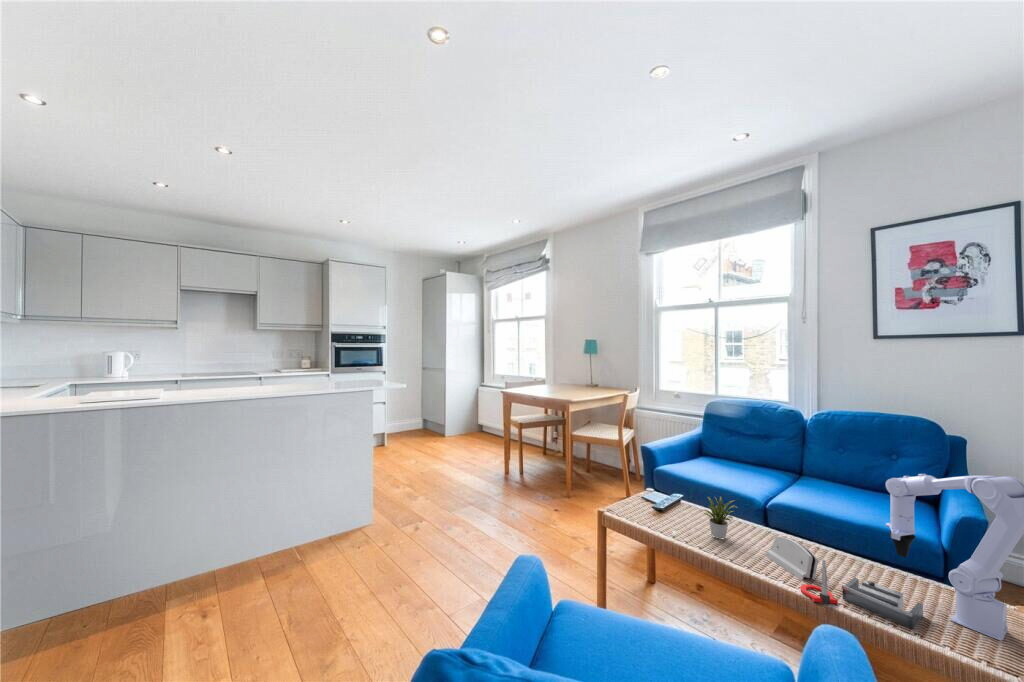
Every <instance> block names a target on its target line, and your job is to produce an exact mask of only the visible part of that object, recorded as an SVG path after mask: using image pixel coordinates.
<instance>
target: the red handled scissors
mask: <svg viewBox="0 0 1024 682" xmlns="http://www.w3.org/2000/svg"><path fill="white" fill-rule="evenodd" d="M821 563H822V564H821V565H822V566H821V586H817V585H815V584H809V583H808V584H802V585H801V586H800V592H801V593H802V594H803V595H805V596H806V597H808V598H810V599H811V600H812V602H813V603H821V604H825V605H826V604H827V605H831V604H832V605H833V604H834V605H838V604H839V602H838V601H839V600H838V599H837V598H835V597H834V595H833V593H832V592H830V591H829V590H828V581H827V580H828V579H827V577H828V575H827V566H826V560H825V559H822V562H821ZM808 590H815V591H818V592H819V596H818V595H815V594H813V593H811V592H809V591H808Z"/></svg>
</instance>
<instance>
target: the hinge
mask: <svg viewBox="0 0 1024 682" xmlns="http://www.w3.org/2000/svg"><path fill="white" fill-rule="evenodd" d="M765 557H767V558H768V559H770V560H771V561H773V562H774V563H775V562H776V564H777V565H778V566H780V567H781V568H783V569H784V570H786V571H787V572H789V573H790V574H791V575H793V576H794V577H796V578H797V579H798V580H800V581H804V578H807V579H811V580H816V575H817V569H818V564H819V559H818V557H817V556H816V555H815V554H814V553H813V552H812V551H811V550H810V549H809V548H807V547H806V546H805V545H803V544H802V543H800V542H799V541H796V540H793V539H791V538H788V537H783V536H776V537H775V539H774V540H773V543H772V546H771V547H770V549H768V550H767V551H766V554H765Z"/></svg>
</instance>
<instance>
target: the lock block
mask: <svg viewBox="0 0 1024 682" xmlns="http://www.w3.org/2000/svg"><path fill="white" fill-rule="evenodd" d="M858 591H859V592H861V593H863V594H866V595H868V596H871V597H873V598H876V599H878V600H880V601H883V602H885V603H888V604H890V605H893V606H895V607H898V608H900V609H902V610H904V593H902V592H900V591H897V590H895V589H891V588H889V587H886V586H883V585H880V584H878V583H875V582H873V581H870V580H866V579H864V580H863V581H862V582H861V583H860V584H859V587H858Z"/></svg>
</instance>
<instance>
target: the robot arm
mask: <svg viewBox="0 0 1024 682" xmlns="http://www.w3.org/2000/svg"><path fill="white" fill-rule="evenodd" d="M885 488H886V490H887V492H888V493H889V494H890V495H889V496H890V500H889V501H890V502H889V503H890V506H889V508H890V509H889V510H890V512H889V513H890V517H889V518H890V522H887V523H885V527H888V528H889V529H890V531H889V533H888V534H889V536H890V539H891V540H892V541H893V545H894V548H895V551H896V555H897V556H900V557H903V558H907V557H908V555H909V553H910V552H909V551H910V548H911V545H912V543H913V542H914V540H915V539H916V535H915V534H916V529H915V501H916V497H917V496H919V497H920V496H934V495H939V494H941V493H942V490H966V491H967V492H968V493H970V494H973V495H975V496H976V497H977V498H978V499H979V500H980V501H981V502H982V503H983V505H985V506H986V507H987V508H988V509H989V510H990V511H991V512H992V513H993V514H994V515H995V518H994V520H993V521H992V522H991V525H989V527H988V528H987V530H986V532H985V534H984V535H983V537H982V538H981V540H980V542H979V544H978V545H977V547H976V548H975V550H974V552H973V553H972V554H971V557H970V558H969V559H967V560H965V561H964V562H962V563H960V564H959V565H958V566H957V568H953V569H952V570H950V571H949V572H948V580H949V582H950V584H951V585H952V586H953V587H954V590H955V613H954V615H953V616H952V617H951V619H950V621H951V622H953V623H956V624H958V625H959V626H960V625H961V626H963V627H965V628H967V629H971V630H973V631H975V632H978V633H980V634H983V635H985V636H988V637H990V638H992V639H996V640H998V641H1001V642H1002V641H1003V640H1004V638H1005V636H1006V634H1007V633H1008V617H1007V616H1008V613H1007V612H1008V609H1007V603H1005V602H1002V601H1000V600H998V599H997V598H995V597H996V593H997V592H1000V591H1001V589H1002V579H1003V577H1004V574H1003V573H1002V572H1001V571H1000V569H1001V568H1002V567H1003V566H1004V564H1005V562H1006V561H1007V559H1008V558H1009V556H1010V554H1011V553H1012V552H1013V550H1014V549H1015V547H1016V546H1017V544H1018V543H1019V541H1020V539H1021V538H1022V537H1023V535H1024V482H1022V480H1020V479H1018V478H1017V477H1014V476H1009V475H1003V476H998V475H964V476H963V475H962V476H952V477H944V478H937V477H935V476H933V475H930V474H929V475H928V474H926V473H918V474H917V475H916V476H909V475H903V477H891V478H888V479H887V480H886V481H885Z"/></svg>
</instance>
